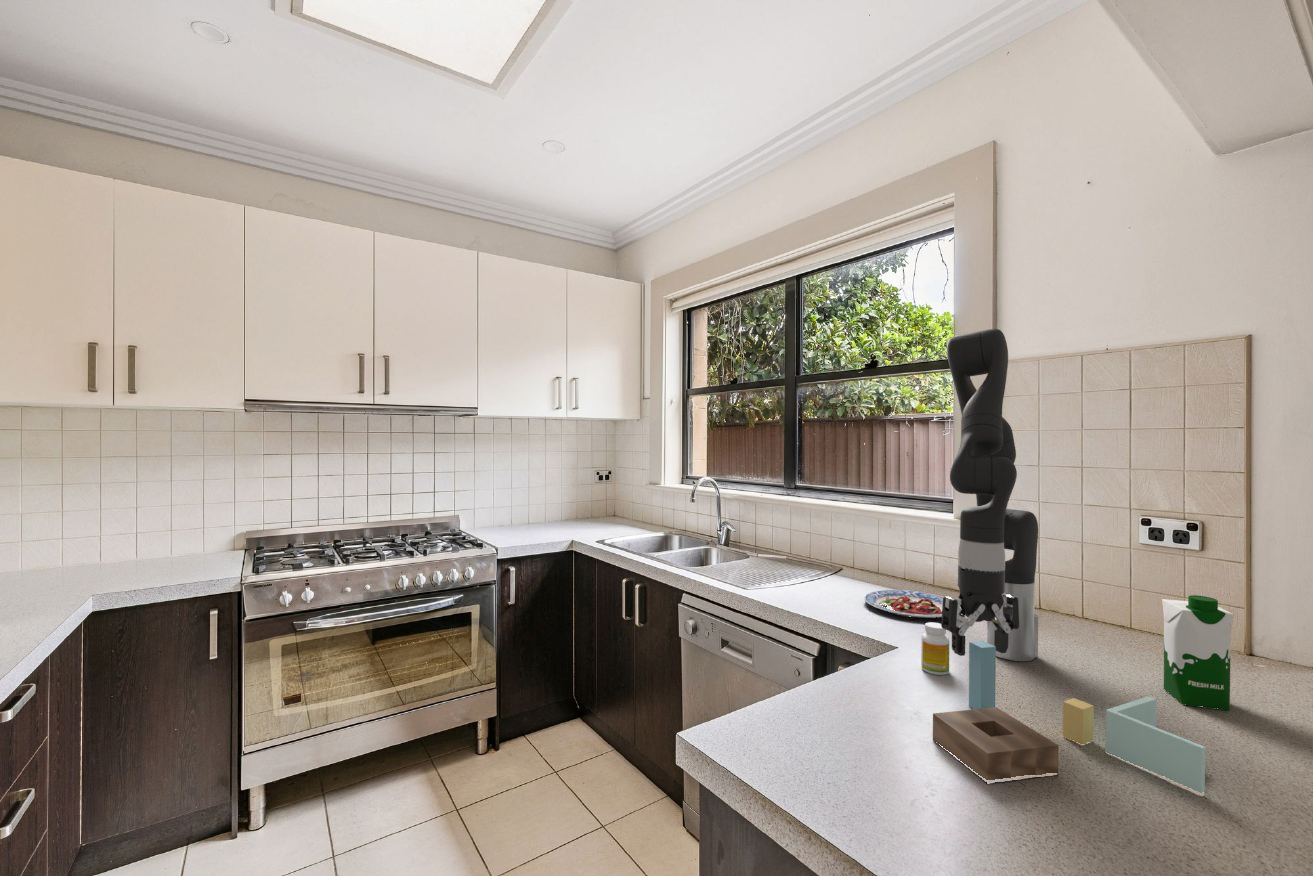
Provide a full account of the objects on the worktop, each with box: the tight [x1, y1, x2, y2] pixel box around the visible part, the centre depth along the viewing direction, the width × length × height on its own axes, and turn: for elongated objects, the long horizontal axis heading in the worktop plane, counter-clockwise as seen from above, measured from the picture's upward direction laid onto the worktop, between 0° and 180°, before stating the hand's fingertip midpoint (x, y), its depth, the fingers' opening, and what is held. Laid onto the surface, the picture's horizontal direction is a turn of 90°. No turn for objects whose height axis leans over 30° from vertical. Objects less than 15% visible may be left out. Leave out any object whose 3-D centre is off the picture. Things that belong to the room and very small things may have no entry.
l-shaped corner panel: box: [1104, 695, 1206, 793], centre depth 88 cm, size 12×12×8 cm
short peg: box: [1062, 697, 1095, 744], centre depth 95 cm, size 3×3×6 cm
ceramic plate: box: [864, 589, 961, 619], centre depth 166 cm, size 26×26×3 cm
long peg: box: [968, 640, 997, 710], centre depth 105 cm, size 3×3×12 cm
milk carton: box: [1161, 594, 1235, 711], centre depth 109 cm, size 9×9×20 cm
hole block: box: [932, 706, 1060, 780], centre depth 90 cm, size 12×12×4 cm
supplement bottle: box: [920, 621, 950, 676], centre depth 123 cm, size 5×5×10 cm
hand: (979, 653), depth 105 cm, fingers open, 8 cm apart
